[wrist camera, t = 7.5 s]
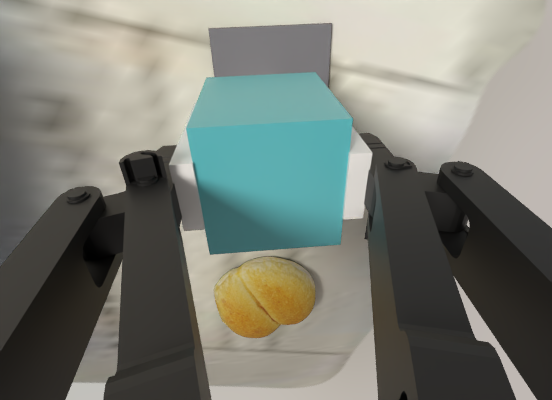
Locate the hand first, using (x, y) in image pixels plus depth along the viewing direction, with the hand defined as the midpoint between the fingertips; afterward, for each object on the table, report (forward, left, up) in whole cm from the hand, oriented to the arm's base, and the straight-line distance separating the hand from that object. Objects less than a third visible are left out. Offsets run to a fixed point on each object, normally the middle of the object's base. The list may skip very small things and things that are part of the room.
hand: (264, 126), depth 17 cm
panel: (+1, +1, -5) cm, 5 cm away
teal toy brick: (0, 0, 0) cm, 0 cm away
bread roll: (-1, -18, -5) cm, 19 cm away
